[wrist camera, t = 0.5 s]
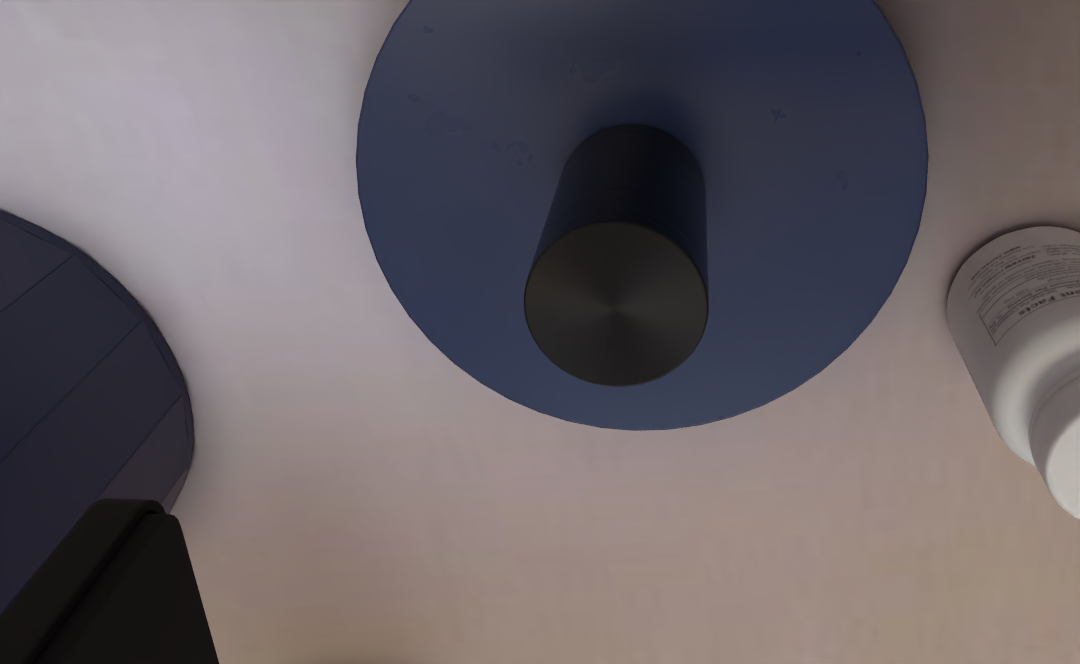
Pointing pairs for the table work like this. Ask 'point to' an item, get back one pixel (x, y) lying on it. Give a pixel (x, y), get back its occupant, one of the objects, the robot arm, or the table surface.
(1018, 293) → the pill bottle
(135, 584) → the robot arm
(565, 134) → the blue pot lid
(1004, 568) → the table surface
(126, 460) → the tin
